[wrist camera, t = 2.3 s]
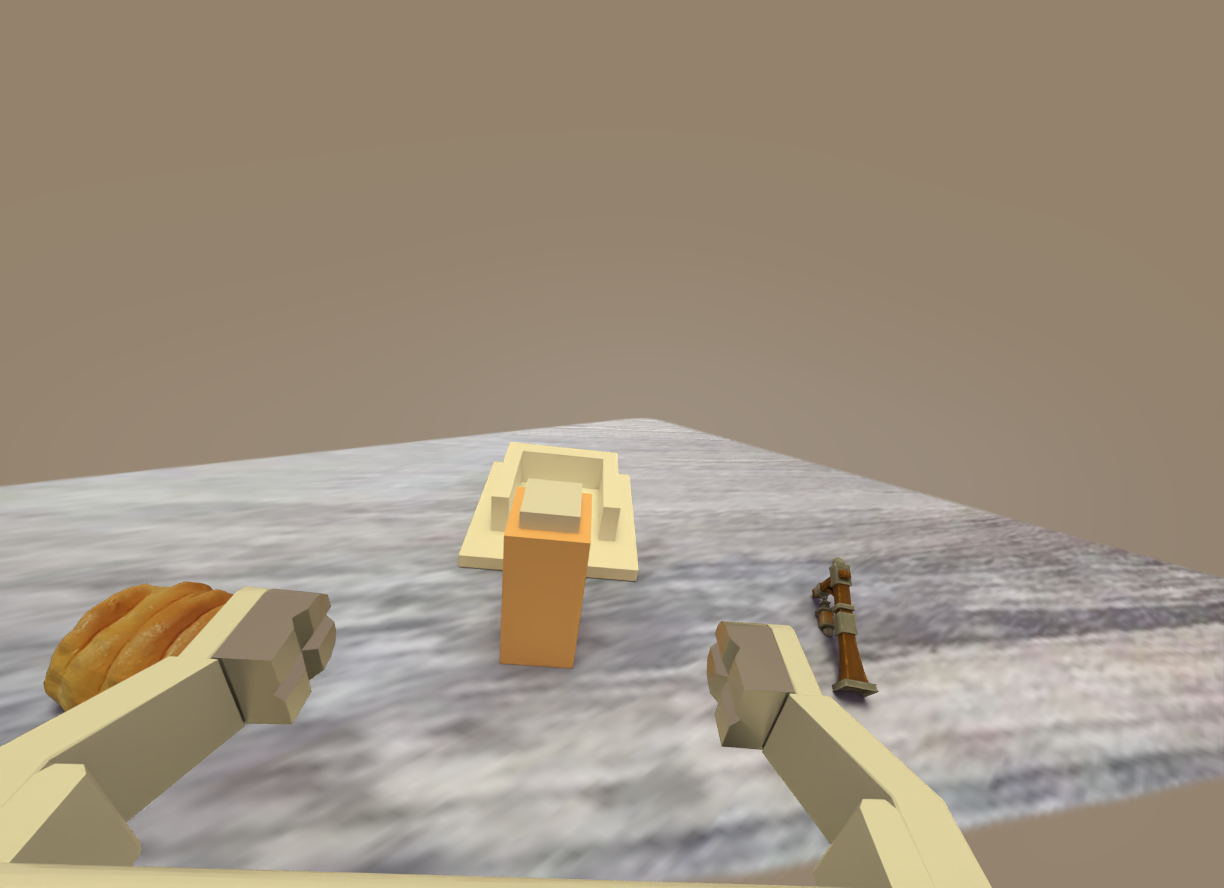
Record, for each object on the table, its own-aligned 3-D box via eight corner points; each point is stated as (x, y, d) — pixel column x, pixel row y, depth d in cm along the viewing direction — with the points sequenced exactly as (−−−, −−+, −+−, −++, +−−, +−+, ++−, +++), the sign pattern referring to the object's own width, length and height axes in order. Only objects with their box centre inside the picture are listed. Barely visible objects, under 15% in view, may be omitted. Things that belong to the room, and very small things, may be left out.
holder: (458, 566, 32) (457, 518, 30) (494, 471, 43) (494, 431, 41) (636, 581, 33) (645, 536, 31) (627, 484, 43) (634, 446, 42)
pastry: (334, 638, 26) (322, 588, 25) (232, 768, 21) (207, 715, 19) (176, 605, 27) (153, 554, 25) (33, 722, 21) (-10, 666, 19)
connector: (500, 663, 26) (504, 518, 21) (511, 606, 30) (517, 470, 25) (572, 668, 27) (593, 526, 22) (576, 611, 30) (594, 478, 25)
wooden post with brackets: (827, 581, 34) (857, 555, 31) (843, 705, 29) (880, 691, 26) (802, 577, 34) (829, 550, 31) (814, 700, 30) (847, 684, 26)
